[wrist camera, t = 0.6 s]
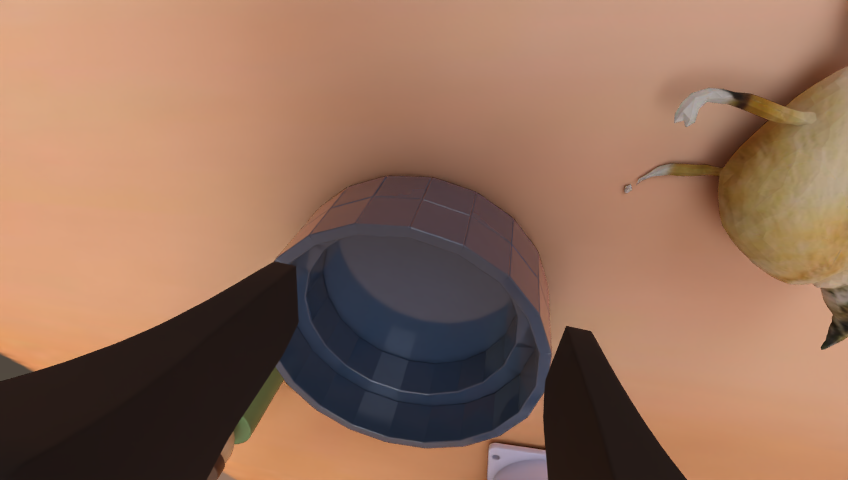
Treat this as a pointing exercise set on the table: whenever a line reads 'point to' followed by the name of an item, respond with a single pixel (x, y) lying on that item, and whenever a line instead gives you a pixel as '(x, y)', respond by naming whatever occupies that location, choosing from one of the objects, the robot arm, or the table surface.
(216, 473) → the peg doll
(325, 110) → the table surface
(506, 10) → the table surface
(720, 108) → the table surface
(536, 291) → the bowl
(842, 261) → the decorative bird model
